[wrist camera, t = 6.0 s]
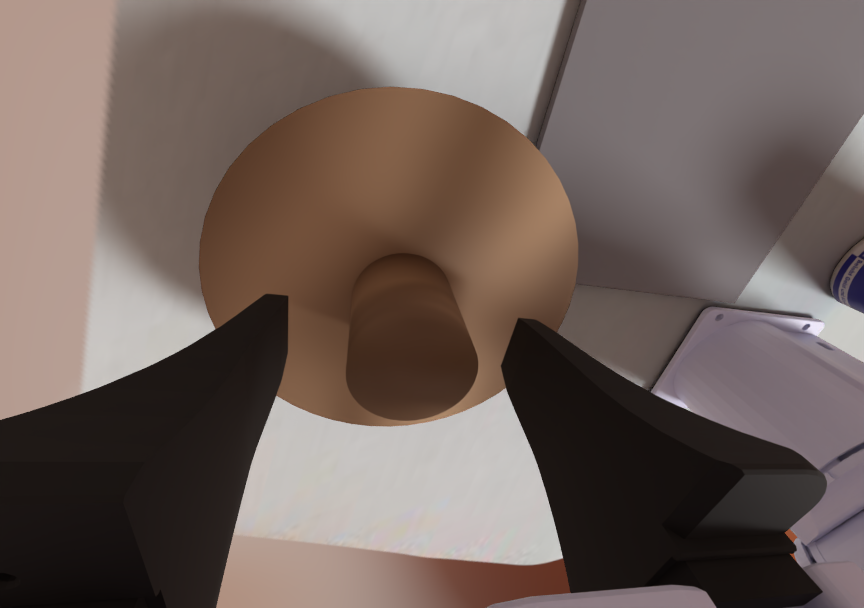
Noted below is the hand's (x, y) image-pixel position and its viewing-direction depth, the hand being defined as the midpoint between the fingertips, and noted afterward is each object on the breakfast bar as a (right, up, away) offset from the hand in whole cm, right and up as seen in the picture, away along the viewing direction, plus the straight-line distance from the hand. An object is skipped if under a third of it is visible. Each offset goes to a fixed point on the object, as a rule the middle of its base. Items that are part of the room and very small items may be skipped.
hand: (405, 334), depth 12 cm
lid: (0, +1, +2) cm, 3 cm away
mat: (+13, +8, +6) cm, 16 cm away
